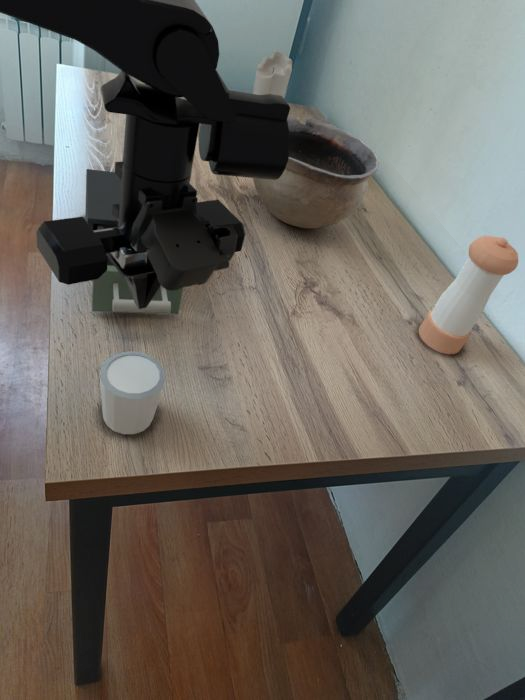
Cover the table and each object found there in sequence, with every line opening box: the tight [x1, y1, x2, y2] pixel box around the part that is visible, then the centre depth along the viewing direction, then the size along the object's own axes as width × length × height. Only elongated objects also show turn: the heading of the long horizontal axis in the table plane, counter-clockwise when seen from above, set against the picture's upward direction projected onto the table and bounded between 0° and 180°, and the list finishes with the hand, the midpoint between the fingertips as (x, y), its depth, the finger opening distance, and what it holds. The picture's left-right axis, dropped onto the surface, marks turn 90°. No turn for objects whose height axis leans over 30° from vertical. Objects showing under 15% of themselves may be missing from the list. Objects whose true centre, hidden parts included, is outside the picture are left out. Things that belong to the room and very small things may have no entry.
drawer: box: [91, 224, 184, 315], centre depth 73 cm, size 17×11×7 cm, turn 14°
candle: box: [252, 49, 293, 99], centre depth 114 cm, size 7×14×20 cm, turn 138°
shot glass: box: [99, 350, 167, 435], centre depth 59 cm, size 7×7×7 cm
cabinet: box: [84, 168, 121, 230], centre depth 82 cm, size 14×13×9 cm
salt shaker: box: [418, 235, 519, 355], centre depth 81 cm, size 7×7×19 cm
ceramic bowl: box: [252, 114, 380, 229], centre depth 100 cm, size 22×22×15 cm
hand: (140, 306), depth 56 cm, fingers closed
